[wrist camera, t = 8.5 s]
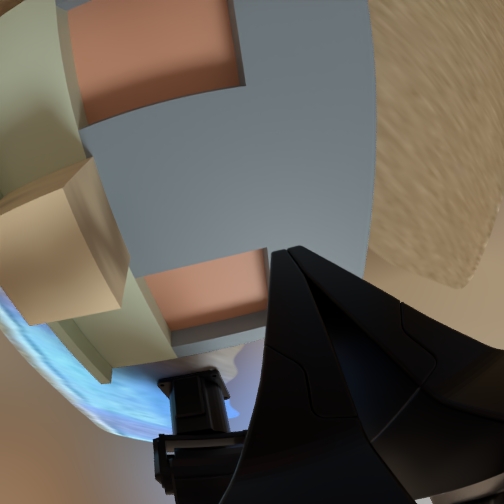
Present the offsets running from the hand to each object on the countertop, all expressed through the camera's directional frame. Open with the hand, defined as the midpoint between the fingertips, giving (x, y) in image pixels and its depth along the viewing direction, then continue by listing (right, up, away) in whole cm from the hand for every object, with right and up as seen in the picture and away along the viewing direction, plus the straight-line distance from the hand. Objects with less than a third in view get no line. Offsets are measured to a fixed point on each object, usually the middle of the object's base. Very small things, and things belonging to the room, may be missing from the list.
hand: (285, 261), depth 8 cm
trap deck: (-5, +4, +7) cm, 10 cm away
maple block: (-11, +2, +5) cm, 12 cm away
